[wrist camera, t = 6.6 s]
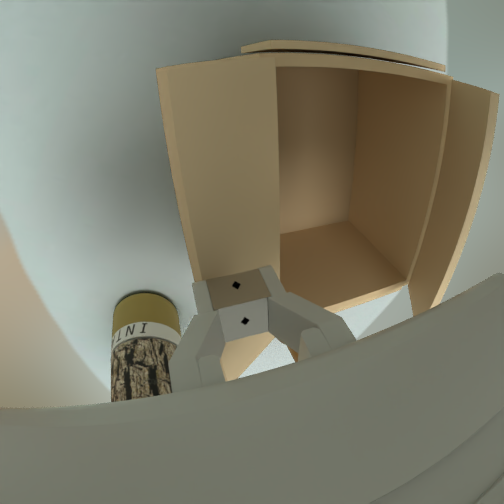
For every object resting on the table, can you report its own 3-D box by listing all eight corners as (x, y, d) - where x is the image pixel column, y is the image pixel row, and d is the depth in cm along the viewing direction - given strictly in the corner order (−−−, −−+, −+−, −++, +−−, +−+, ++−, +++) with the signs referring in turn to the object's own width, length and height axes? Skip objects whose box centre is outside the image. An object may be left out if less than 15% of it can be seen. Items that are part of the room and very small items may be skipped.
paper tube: (190, 305, 30) (263, 562, 10) (157, 342, 32) (203, 565, 12) (132, 278, 26) (171, 584, 6) (103, 321, 28) (123, 573, 8)
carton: (214, 52, 17) (257, 39, 9) (361, 54, 19) (454, 68, 12) (234, 251, 27) (270, 334, 20) (349, 226, 30) (408, 288, 22)
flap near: (264, 57, 10) (155, 68, 7) (274, 57, 9) (166, 66, 6) (273, 328, 19) (222, 382, 16) (279, 332, 19) (228, 387, 16)
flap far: (413, 286, 21) (422, 335, 17) (407, 285, 21) (416, 335, 17) (458, 81, 12) (499, 94, 8) (451, 79, 12) (491, 91, 8)
